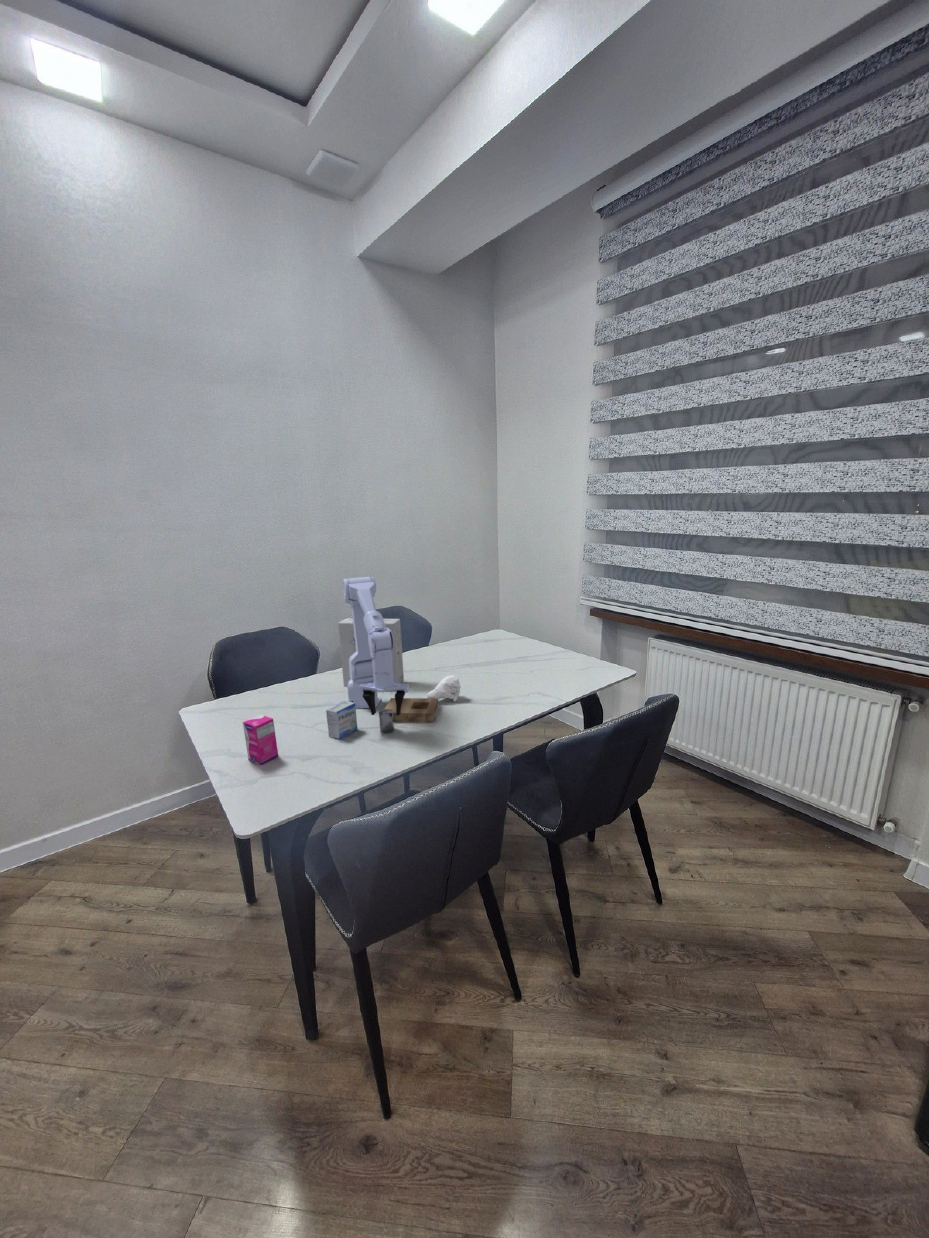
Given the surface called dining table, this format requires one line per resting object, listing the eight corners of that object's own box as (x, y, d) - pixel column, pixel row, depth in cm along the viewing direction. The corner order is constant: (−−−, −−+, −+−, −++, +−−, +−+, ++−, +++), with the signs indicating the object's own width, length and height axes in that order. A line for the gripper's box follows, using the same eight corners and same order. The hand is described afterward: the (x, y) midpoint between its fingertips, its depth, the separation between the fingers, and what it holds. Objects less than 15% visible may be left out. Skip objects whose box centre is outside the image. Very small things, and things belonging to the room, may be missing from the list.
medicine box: (338, 739, 144) (336, 712, 142) (328, 736, 146) (325, 709, 144) (358, 729, 150) (355, 702, 148) (347, 726, 153) (345, 700, 151)
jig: (382, 721, 155) (382, 712, 154) (391, 706, 167) (391, 698, 166) (432, 722, 153) (432, 713, 153) (438, 706, 165) (438, 698, 164)
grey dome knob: (378, 733, 147) (377, 714, 146) (382, 727, 151) (380, 709, 150) (392, 733, 147) (391, 714, 145) (395, 727, 151) (394, 709, 149)
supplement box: (247, 760, 134) (241, 721, 131) (266, 751, 139) (261, 713, 136) (260, 765, 131) (254, 726, 128) (279, 756, 135) (274, 717, 133)
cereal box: (404, 681, 190) (400, 618, 184) (398, 688, 183) (394, 623, 177) (351, 679, 194) (345, 617, 188) (343, 686, 187) (337, 622, 181)
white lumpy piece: (461, 676, 168) (429, 686, 162) (464, 699, 170) (433, 710, 165) (452, 671, 173) (421, 681, 168) (455, 693, 175) (425, 703, 170)
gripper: (354, 675, 142) (358, 719, 145) (404, 675, 140) (407, 719, 143) (362, 667, 148) (365, 709, 151) (409, 667, 147) (411, 710, 150)
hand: (386, 714), depth 148 cm, fingers open, 7 cm apart
